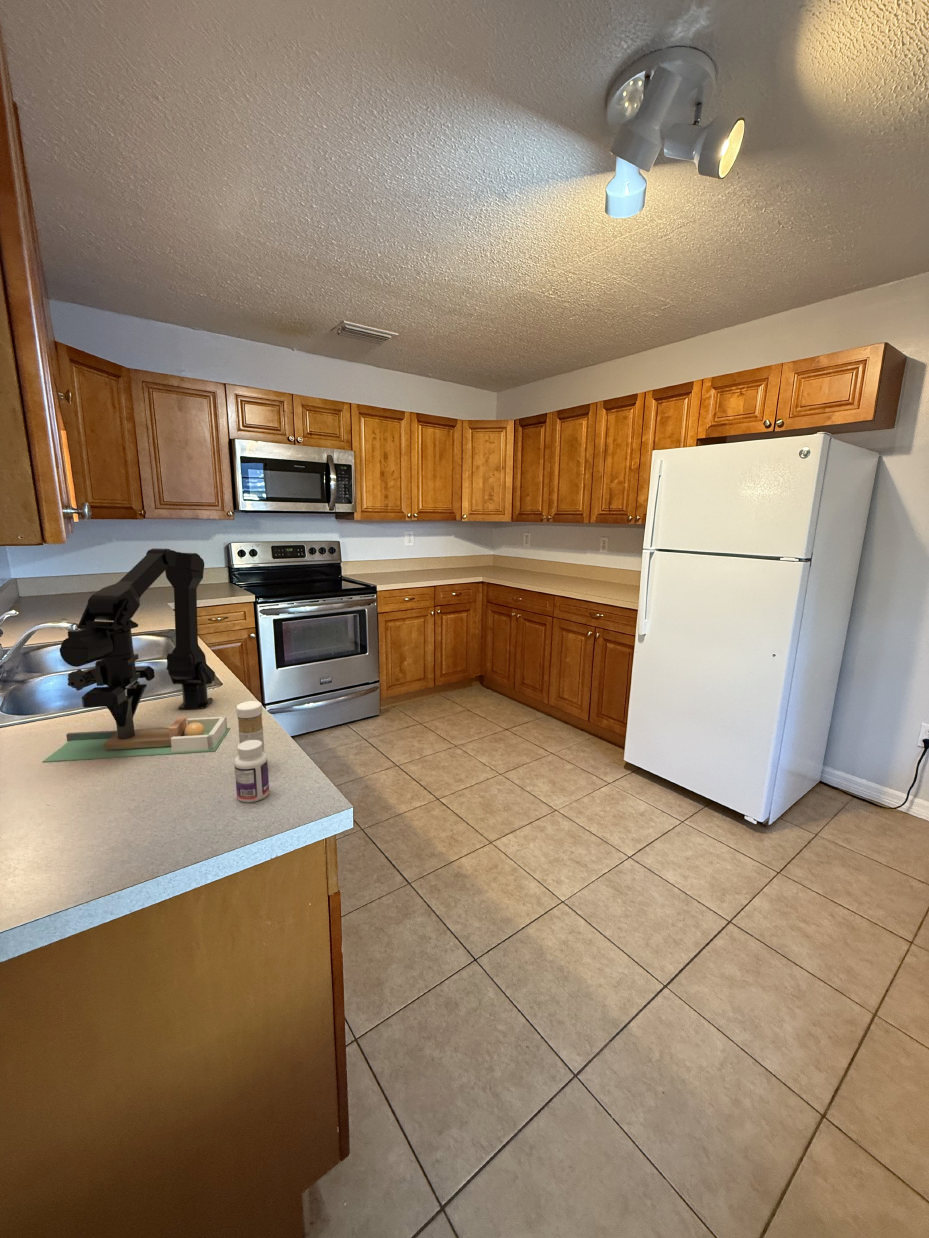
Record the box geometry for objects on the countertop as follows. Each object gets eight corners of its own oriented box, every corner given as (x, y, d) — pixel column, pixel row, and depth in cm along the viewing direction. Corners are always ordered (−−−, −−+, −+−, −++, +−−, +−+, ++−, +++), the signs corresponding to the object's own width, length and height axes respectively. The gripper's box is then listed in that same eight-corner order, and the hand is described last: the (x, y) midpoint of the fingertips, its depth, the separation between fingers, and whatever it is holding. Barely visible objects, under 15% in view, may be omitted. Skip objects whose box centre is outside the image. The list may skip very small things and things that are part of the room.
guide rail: (69, 739, 109) (68, 732, 109) (185, 732, 114) (185, 726, 113) (67, 740, 108) (66, 734, 108) (184, 734, 113) (184, 727, 113)
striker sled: (118, 737, 110) (113, 696, 108) (187, 733, 112) (183, 693, 111) (104, 749, 104) (99, 706, 102) (177, 745, 107) (173, 703, 105)
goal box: (189, 730, 115) (188, 718, 114) (227, 728, 116) (226, 716, 116) (171, 752, 104) (170, 738, 104) (213, 749, 106) (212, 736, 105)
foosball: (211, 726, 112) (199, 739, 112) (195, 716, 111) (183, 729, 111) (205, 733, 108) (193, 747, 108) (189, 723, 107) (177, 736, 107)
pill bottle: (259, 783, 93) (256, 735, 91) (275, 794, 90) (272, 743, 88) (231, 795, 89) (227, 745, 87) (246, 807, 86) (242, 754, 84)
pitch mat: (76, 736, 111) (75, 736, 111) (230, 728, 117) (229, 727, 117) (42, 762, 99) (42, 761, 99) (215, 751, 105) (215, 750, 105)
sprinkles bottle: (261, 761, 102) (257, 698, 99) (269, 769, 98) (265, 705, 96) (237, 767, 99) (233, 703, 96) (244, 776, 95) (240, 710, 93)
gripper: (97, 642, 111) (105, 709, 114) (45, 667, 93) (56, 745, 96) (152, 641, 113) (159, 706, 116) (111, 665, 95) (121, 741, 98)
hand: (125, 723), depth 107 cm, fingers closed on striker sled, 3 cm apart
